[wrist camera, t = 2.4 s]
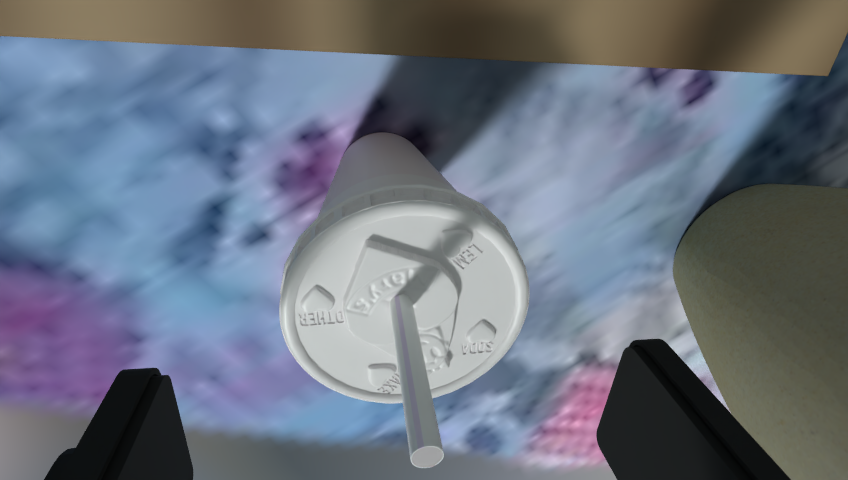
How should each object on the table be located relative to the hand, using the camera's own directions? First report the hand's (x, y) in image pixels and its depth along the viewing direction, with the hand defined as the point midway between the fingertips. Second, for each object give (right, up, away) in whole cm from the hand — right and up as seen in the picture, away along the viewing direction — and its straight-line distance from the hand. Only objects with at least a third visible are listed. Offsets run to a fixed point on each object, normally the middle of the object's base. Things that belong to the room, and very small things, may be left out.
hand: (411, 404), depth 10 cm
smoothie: (-2, +6, +10) cm, 12 cm away
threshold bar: (+1, +12, +7) cm, 14 cm away
